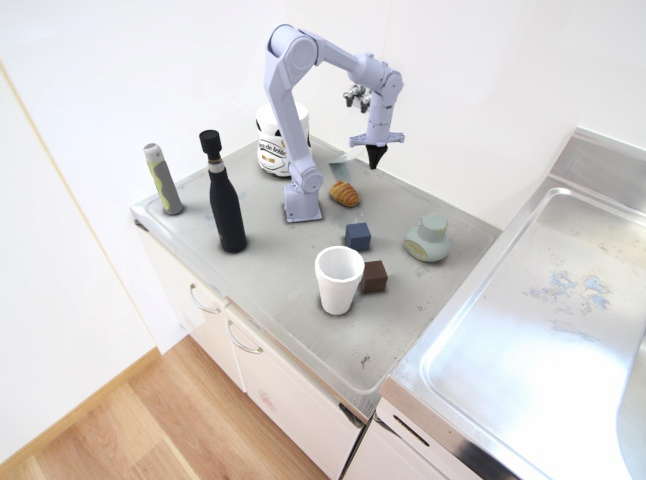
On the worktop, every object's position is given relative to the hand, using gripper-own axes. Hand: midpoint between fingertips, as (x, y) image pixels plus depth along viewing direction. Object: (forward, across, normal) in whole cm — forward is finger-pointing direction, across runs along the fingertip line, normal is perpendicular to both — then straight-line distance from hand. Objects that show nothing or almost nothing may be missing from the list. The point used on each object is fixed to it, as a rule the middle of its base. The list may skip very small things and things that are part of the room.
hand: (372, 167), depth 96 cm
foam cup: (+9, -18, -38) cm, 43 cm away
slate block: (+8, -9, -21) cm, 24 cm away
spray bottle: (+9, -57, +1) cm, 58 cm away
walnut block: (+8, -9, -34) cm, 36 cm away
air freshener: (+9, +7, -26) cm, 28 cm away
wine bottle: (+9, -40, -16) cm, 44 cm away
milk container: (+9, -23, +18) cm, 30 cm away
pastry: (+9, -8, -1) cm, 12 cm away
